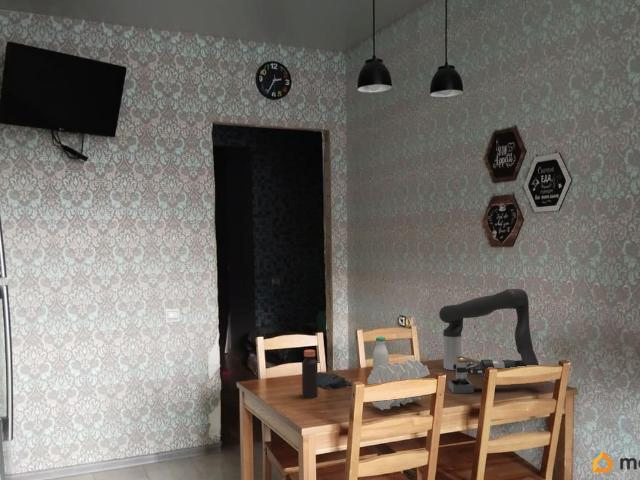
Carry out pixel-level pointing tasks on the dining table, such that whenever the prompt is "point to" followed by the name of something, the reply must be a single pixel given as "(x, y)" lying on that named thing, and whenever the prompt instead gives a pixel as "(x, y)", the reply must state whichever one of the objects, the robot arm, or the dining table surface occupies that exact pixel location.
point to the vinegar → (309, 375)
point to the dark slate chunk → (331, 381)
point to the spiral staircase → (397, 373)
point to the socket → (461, 387)
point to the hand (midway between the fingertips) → (455, 368)
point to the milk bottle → (380, 353)
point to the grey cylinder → (461, 377)
